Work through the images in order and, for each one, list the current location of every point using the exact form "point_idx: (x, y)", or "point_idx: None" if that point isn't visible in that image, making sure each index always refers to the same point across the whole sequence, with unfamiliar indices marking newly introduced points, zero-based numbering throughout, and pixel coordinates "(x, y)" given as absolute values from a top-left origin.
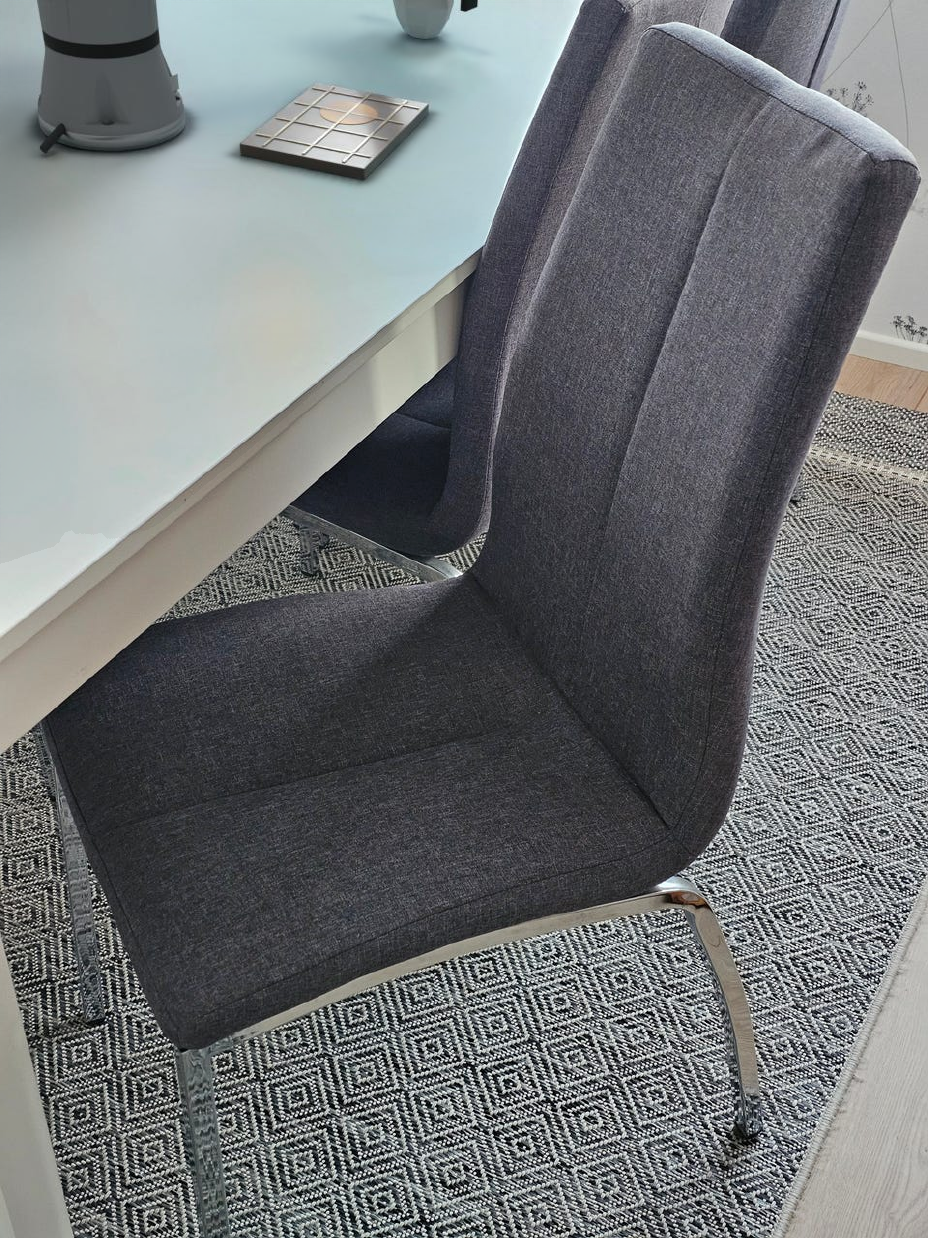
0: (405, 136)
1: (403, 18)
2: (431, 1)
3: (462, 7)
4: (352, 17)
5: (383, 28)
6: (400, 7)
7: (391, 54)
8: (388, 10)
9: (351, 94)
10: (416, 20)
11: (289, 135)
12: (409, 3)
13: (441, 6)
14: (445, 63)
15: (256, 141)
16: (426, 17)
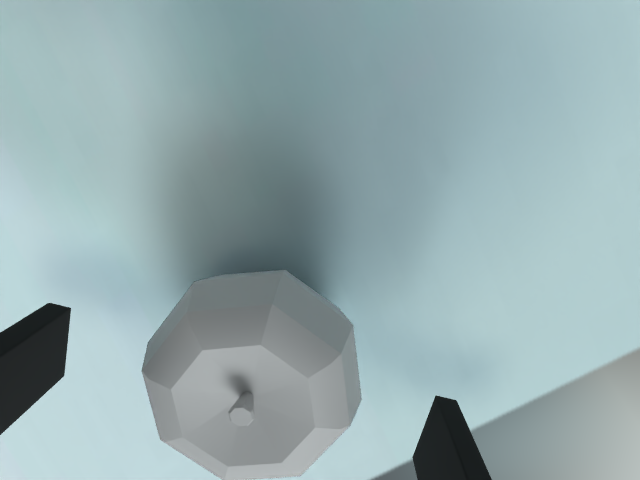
0: None
1: (300, 281)
2: (180, 312)
3: (54, 310)
4: (507, 352)
5: (391, 314)
6: (308, 290)
7: (279, 117)
8: None
9: None
10: (248, 273)
11: None
12: (262, 283)
13: (160, 329)
14: (107, 134)
15: None
16: (207, 278)
